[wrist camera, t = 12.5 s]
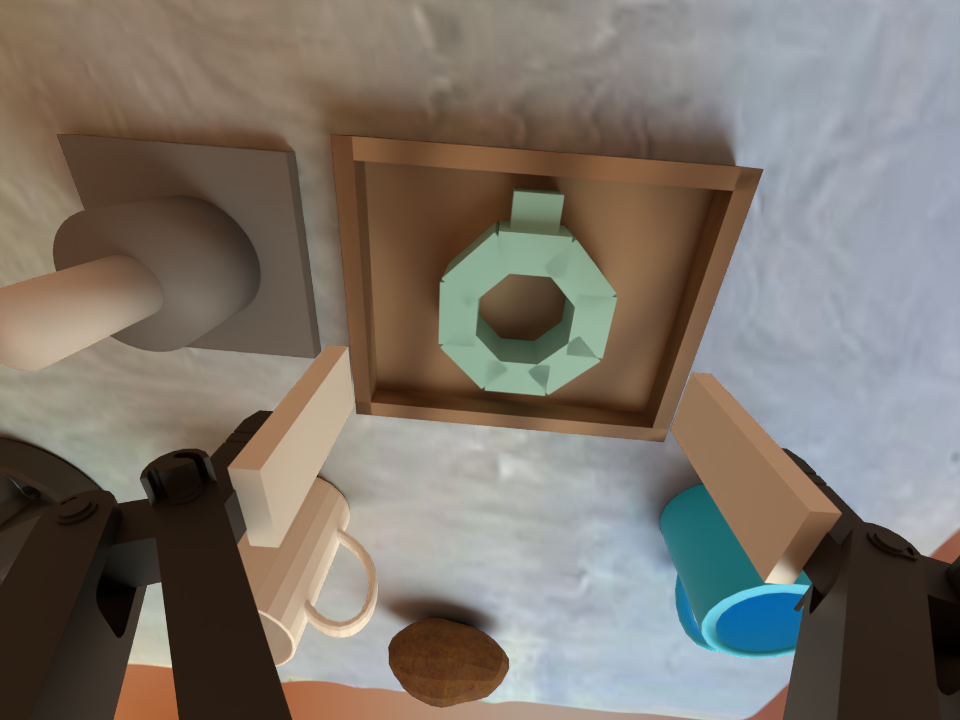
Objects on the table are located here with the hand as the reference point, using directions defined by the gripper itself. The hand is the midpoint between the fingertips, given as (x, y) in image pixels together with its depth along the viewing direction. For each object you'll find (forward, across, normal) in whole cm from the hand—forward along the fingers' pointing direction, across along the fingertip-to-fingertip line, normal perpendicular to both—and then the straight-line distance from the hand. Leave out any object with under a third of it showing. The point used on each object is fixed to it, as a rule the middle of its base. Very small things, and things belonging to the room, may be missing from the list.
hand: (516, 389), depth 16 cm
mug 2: (+10, +18, -19) cm, 28 cm away
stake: (+11, -18, +1) cm, 21 cm away
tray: (+10, +1, 0) cm, 10 cm away
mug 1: (+11, -13, -20) cm, 26 cm away
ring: (+9, +1, 0) cm, 9 cm away
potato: (+11, -2, -36) cm, 37 cm away
